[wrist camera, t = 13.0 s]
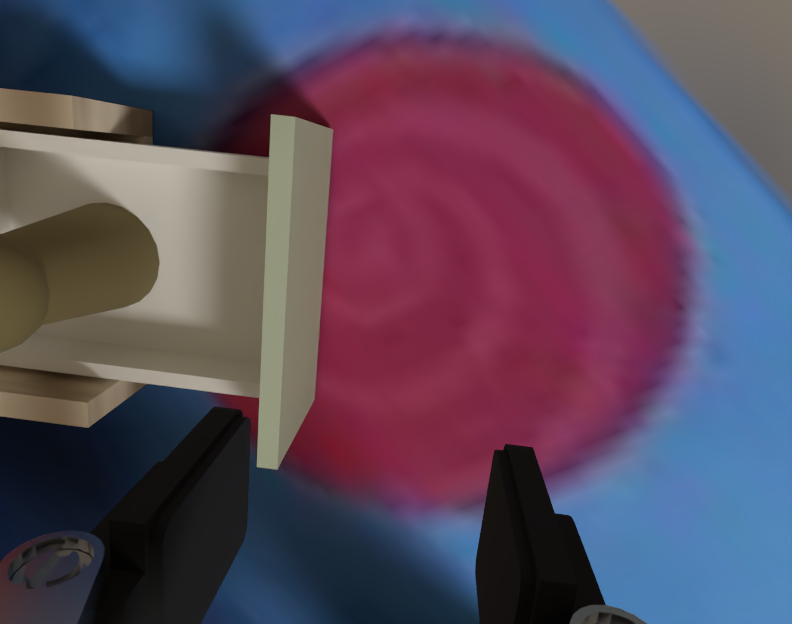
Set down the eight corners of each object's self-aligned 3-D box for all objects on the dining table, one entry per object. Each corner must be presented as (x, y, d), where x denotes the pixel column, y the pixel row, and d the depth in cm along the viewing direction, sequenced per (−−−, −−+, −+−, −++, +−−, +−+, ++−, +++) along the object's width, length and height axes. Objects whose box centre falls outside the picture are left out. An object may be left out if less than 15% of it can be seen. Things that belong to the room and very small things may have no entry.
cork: (78, 316, 32) (-98, 391, 22) (40, 214, 31) (-168, 241, 20) (173, 297, 32) (39, 364, 21) (139, 191, 30) (-23, 205, 20)
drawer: (333, 129, 30) (295, 116, 22) (314, 399, 34) (277, 469, 26) (6, 95, 31) (-143, 71, 23) (27, 362, 35) (-92, 420, 27)
